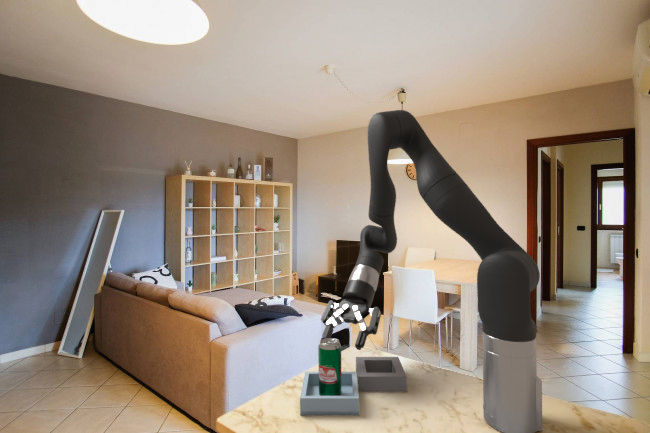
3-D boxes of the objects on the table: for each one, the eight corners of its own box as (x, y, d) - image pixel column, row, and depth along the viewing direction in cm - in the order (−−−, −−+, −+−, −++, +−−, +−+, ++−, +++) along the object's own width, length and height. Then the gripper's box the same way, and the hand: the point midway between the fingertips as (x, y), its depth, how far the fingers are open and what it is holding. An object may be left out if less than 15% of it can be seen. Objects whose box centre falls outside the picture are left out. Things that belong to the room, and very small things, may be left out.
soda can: (315, 398, 76) (314, 343, 76) (324, 388, 81) (323, 336, 81) (337, 403, 74) (336, 346, 74) (344, 392, 79) (344, 338, 79)
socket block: (398, 370, 91) (398, 356, 91) (406, 391, 80) (406, 376, 80) (356, 370, 91) (355, 356, 91) (358, 391, 80) (358, 376, 80)
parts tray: (355, 386, 83) (355, 371, 83) (359, 415, 71) (359, 398, 71) (305, 386, 83) (305, 371, 83) (300, 415, 71) (300, 398, 71)
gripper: (332, 275, 93) (309, 332, 83) (383, 280, 85) (364, 342, 76) (342, 291, 97) (321, 346, 88) (391, 297, 90) (374, 358, 80)
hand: (341, 344), depth 82 cm, fingers open, 8 cm apart
